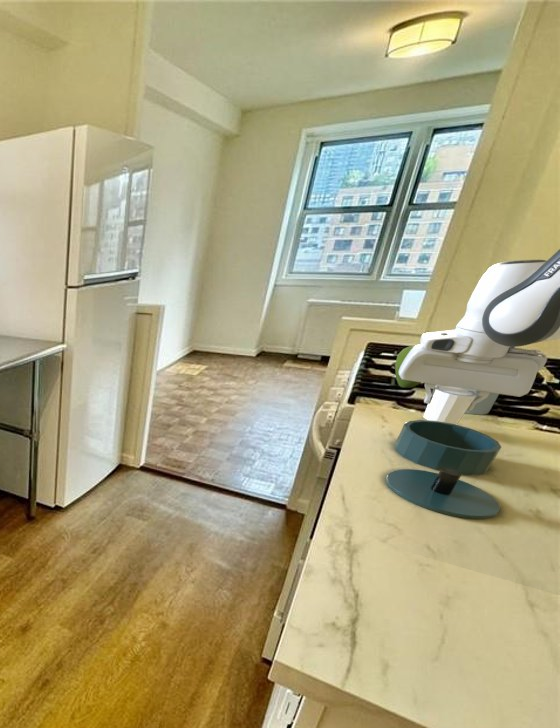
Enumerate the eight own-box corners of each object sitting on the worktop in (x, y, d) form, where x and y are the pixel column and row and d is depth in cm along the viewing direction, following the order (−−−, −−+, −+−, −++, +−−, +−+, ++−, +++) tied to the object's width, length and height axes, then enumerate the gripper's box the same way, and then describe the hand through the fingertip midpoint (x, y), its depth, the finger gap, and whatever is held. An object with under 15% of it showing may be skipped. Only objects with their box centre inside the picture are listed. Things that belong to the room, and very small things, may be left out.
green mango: (429, 394, 124) (450, 351, 118) (387, 388, 128) (406, 346, 123) (423, 384, 130) (443, 342, 125) (384, 379, 134) (402, 338, 129)
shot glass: (465, 421, 106) (481, 391, 102) (455, 429, 102) (471, 398, 99) (425, 411, 111) (439, 382, 107) (415, 418, 107) (429, 388, 104)
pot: (477, 454, 96) (491, 430, 94) (493, 485, 86) (509, 459, 84) (390, 437, 103) (401, 414, 100) (396, 464, 93) (408, 439, 91)
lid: (485, 490, 85) (500, 465, 83) (506, 533, 74) (524, 506, 72) (381, 467, 92) (392, 443, 90) (387, 503, 82) (399, 478, 79)
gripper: (546, 347, 95) (509, 411, 102) (413, 333, 106) (387, 392, 112) (557, 355, 91) (517, 422, 97) (417, 339, 101) (389, 400, 108)
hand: (446, 405), depth 105 cm, fingers closed on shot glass, 5 cm apart
